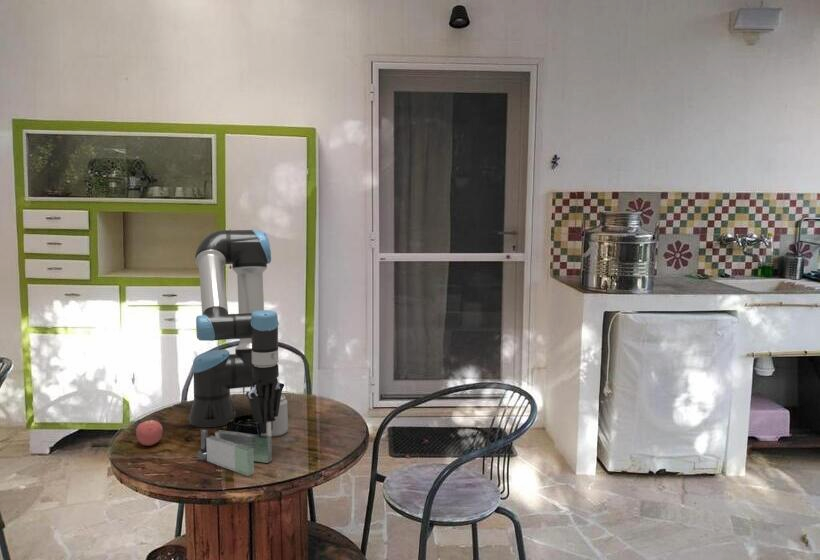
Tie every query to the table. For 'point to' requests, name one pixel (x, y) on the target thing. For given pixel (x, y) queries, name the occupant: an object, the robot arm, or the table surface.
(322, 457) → the table surface
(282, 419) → the can
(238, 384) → the robot arm
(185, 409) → the table surface
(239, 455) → the base
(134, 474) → the table surface
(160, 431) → the apple
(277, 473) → the table surface
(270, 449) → the tong jaw
